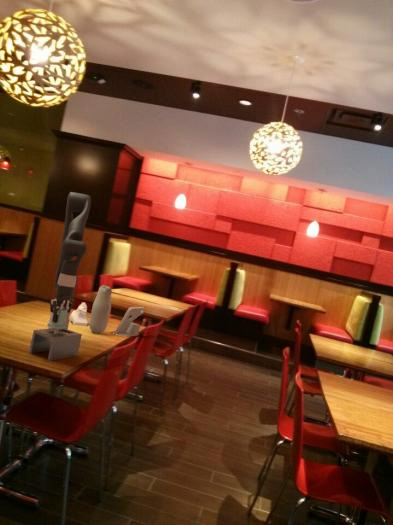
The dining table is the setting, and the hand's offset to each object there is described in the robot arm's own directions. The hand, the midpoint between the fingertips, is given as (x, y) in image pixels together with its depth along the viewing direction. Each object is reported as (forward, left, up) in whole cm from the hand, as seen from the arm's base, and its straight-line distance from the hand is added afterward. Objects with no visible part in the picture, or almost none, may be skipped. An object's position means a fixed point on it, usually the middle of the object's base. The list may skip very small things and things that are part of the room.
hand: (58, 321), depth 195 cm
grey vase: (-58, -19, -15) cm, 63 cm away
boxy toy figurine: (0, 0, -9) cm, 9 cm away
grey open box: (-2, 0, -15) cm, 15 cm away
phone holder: (-77, -11, -15) cm, 79 cm away
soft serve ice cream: (-66, -39, -15) cm, 78 cm away
